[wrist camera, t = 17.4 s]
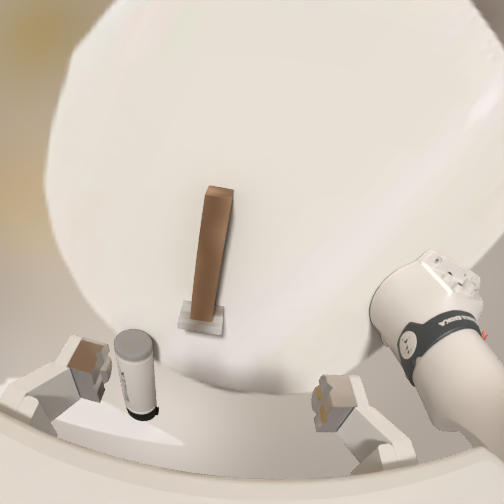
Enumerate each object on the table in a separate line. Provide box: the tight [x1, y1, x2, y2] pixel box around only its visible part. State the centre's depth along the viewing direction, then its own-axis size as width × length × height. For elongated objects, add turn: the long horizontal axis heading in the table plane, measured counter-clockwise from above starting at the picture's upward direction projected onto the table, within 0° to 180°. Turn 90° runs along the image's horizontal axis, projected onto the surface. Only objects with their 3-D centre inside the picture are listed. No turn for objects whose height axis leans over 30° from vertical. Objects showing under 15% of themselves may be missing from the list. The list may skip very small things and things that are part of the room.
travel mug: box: [114, 329, 159, 421], centre depth 49 cm, size 6×7×20 cm
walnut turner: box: [178, 186, 233, 335], centre depth 39 cm, size 6×19×5 cm, turn 169°
